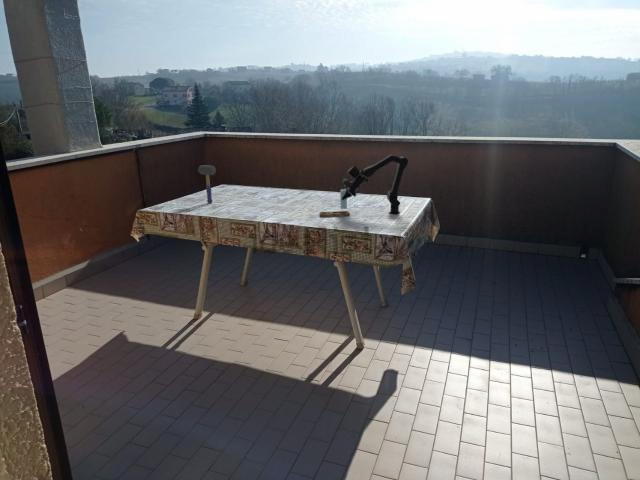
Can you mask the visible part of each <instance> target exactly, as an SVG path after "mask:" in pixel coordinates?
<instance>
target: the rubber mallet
mask: <svg viewBox="0 0 640 480" xmlns="http://www.w3.org/2000/svg"><path fill="white" fill-rule="evenodd" d="M197 171H198V173H199V174H200V175H203V176H204V175H205V182H206V186H205V188H206V196H207V197H206V198H207V200H206V201H207V203H208V204H212V203H213V198H212V197H213V196H212V187H211V183H210V182H211V181H210V176H213V175H215V174H216V172H217V169H216V167H215V165H210V164H209V165H208V164H205V165H204V164H203V165H199V166H198V169H197Z"/></svg>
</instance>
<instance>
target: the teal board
mask: <svg viewBox="0 0 640 480" xmlns="http://www.w3.org/2000/svg"><path fill="white" fill-rule="evenodd" d="M339 192H340V193H339V195H340V199H339V200H340V209H341V210H345V209H348V207H347V206H348V203H347V202H348V198H346V199H344V200H342V197H343V196H344V195H345V193H346V188H344V189H340V191H339Z"/></svg>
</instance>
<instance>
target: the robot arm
mask: <svg viewBox="0 0 640 480" xmlns="http://www.w3.org/2000/svg"><path fill="white" fill-rule="evenodd" d="M392 162H393V163H397V164H396V172H395V176H394V179H393V183H392V185H391V189H389V190H388V191H387V194H386V200H388V202H389V204H390V211H389V212H388V214H392V215H398V214H400V213H401V211H400V210H399V209H400V205H401V201H399V200H398V196H399V193H398V192H399V188H400V183H401V180H402V177H403V173H404V171H405V170H406V168H407V166H408V164H409V160H408V158H407V157H405V156H397V155H396V156H395V155H393V154H389V155H388V156H386V157H384V158H383V159H382V160H381V159H380V160H379V161H378V162H376V163H374V164H371V165H370V166H367V167H365V168H363V169H358V168H357V167H356V166H355V165H353V166H352V167H350V168H349V169H348V170H347V171H346V173H347V174H348V175H349V177H351V178H352V179H354V180H350V179H346V178H343V180H342V182H341V183H342V184H343V187H344V188H345V189H346V193H345V195H344V196H343V197H342V200H344V199H346V198H347V199H348V198H350V197H353V198H355V197H356V196H357V192H356V191H357V190H358V189H360V187H361V186H362V185H363V184H364V182H366V183H367V184H368V183H369V181H368V180H369V178H370V177H372V176H373V175H374V174H375V173H376V172H377V171H378V170H380V169H382V168H383V167H384V166H387V165H389V163H392Z"/></svg>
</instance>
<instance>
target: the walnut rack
mask: <svg viewBox="0 0 640 480" xmlns="http://www.w3.org/2000/svg"><path fill="white" fill-rule="evenodd" d="M331 211H332V210H331ZM332 212H333V213H331V214H326V211H319V217H320V218H331V217H332V218H334V217H350V215H351V214H350V211H349V210H337V211H336V210H335V211H334V210H333V211H332Z"/></svg>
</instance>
